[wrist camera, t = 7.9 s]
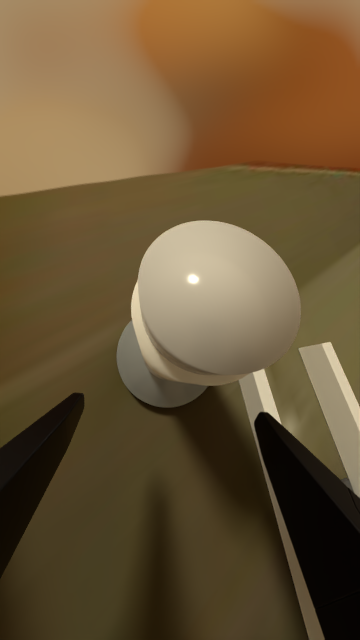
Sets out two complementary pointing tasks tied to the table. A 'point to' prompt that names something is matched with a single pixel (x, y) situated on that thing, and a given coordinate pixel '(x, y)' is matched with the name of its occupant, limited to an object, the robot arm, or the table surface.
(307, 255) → the table surface
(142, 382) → the coaster
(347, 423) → the channel
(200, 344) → the salt mill
